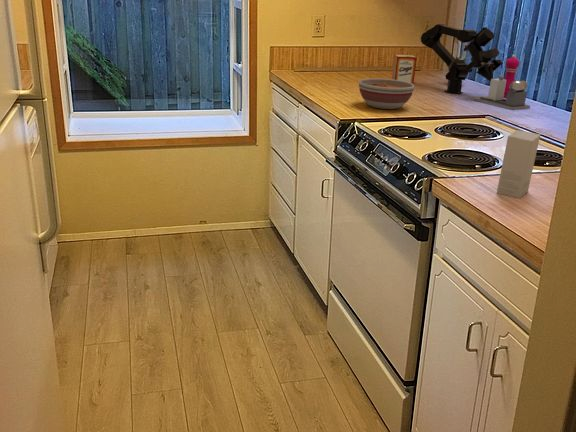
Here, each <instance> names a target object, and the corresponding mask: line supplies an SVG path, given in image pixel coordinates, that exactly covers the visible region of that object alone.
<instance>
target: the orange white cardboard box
mask: <svg viewBox="0 0 576 432" xmlns="http://www.w3.org/2000/svg"><path fill="white" fill-rule="evenodd" d="M417 59H418V58H417V56H415V55H411V54H409V55H408V54H394V56H393V66H392V74H391V79H392V80H400V81H405V82H409V83H412V84H413V85H415V84H414V83H415V76H416V69H417V67H416V66H417Z"/></svg>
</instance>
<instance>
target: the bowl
mask: <svg viewBox="0 0 576 432" xmlns="http://www.w3.org/2000/svg"><path fill="white" fill-rule="evenodd" d="M358 87H359V93H360V95H361V97H362V99H363V100H364V102H365V103H366V104H367V105H369V106H370V107H372V108H376V109H383V110H394V109H400V108H401V107H403V106H404V105H405V104H406V103H408V102H409V100H410V99H411V98H412V95H413V93H414V90H415V84H412V83H409V82H405V81H400V80H392V78H391V79H390V78H364V79H360V80H359V81H358Z"/></svg>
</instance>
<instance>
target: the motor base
mask: <svg viewBox="0 0 576 432" xmlns="http://www.w3.org/2000/svg"><path fill="white" fill-rule="evenodd" d="M509 88H510V90H511V91H508V92H507V98H503V100H492V99H488V96H480V97H473V99H472V101H475V102H478V103H482V104H486V105H490V106H495V107H498V108H503V109H506V110H509V111H510V110H511V111H515V109H518V110H526V109H525V108H527V109H531V105H530V104H526V100H527V95H528V91H526V90H527V88H528V82H527V81H525V80H515V81H513V82H511V83H510V86H509Z"/></svg>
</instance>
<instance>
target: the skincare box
mask: <svg viewBox="0 0 576 432" xmlns="http://www.w3.org/2000/svg"><path fill="white" fill-rule="evenodd" d="M540 140H541V134H540V133H536V132H529V131H523V130H517V129H516V130H514V132H511V133H510V134H509V135H507V139H506V145H505V150H504V155H503V160H502V165H501V169H500V173H499V174H500V175H499V179H498V182H497V183H498V184H497V190H496V194H500V195H503V196H508V197H510V198H511V197H512V198H516V199H521V198H522V197H523V196H524V195H525V194H527V192H528V191H529V188H530V184H531V183H530V182H531V180H532V174H533V170H534V166H535V161H536V156H537V151H538V148H539V144H540Z"/></svg>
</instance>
